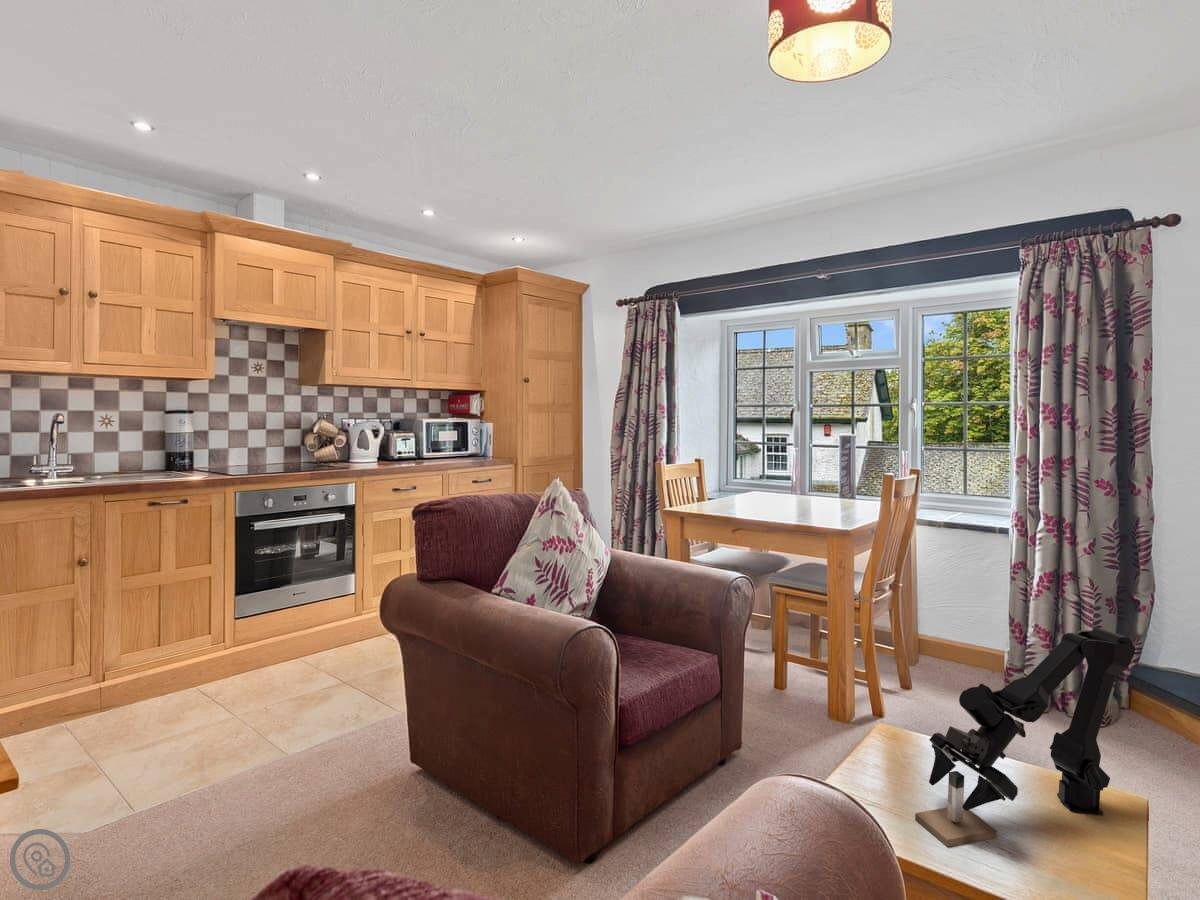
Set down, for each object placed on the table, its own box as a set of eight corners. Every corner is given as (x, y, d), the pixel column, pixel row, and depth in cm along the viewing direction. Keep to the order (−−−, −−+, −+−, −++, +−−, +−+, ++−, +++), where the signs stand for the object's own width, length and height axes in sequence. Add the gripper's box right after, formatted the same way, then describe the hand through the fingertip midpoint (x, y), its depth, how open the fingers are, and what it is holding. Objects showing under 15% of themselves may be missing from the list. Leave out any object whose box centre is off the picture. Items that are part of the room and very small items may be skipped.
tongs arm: (959, 817, 138) (960, 773, 138) (963, 820, 137) (964, 775, 137) (951, 819, 138) (952, 774, 137) (955, 822, 137) (956, 777, 136)
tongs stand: (962, 811, 144) (963, 759, 143) (996, 837, 135) (998, 781, 134) (915, 819, 141) (916, 766, 140) (947, 847, 132) (949, 790, 131)
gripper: (937, 696, 147) (893, 750, 145) (1008, 736, 129) (959, 799, 127) (965, 726, 150) (922, 780, 148) (1039, 770, 132) (991, 832, 130)
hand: (946, 796), depth 138 cm, fingers open, 9 cm apart
